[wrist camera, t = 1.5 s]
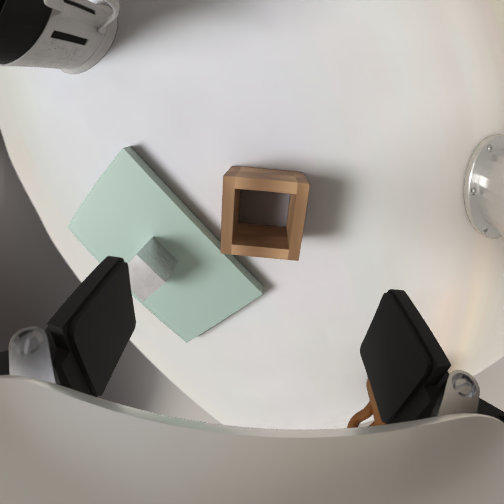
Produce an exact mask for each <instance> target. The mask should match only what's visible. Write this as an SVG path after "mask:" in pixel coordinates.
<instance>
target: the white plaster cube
mask: <svg viewBox="0 0 504 504" xmlns="http://www.w3.org/2000/svg"><path fill="white" fill-rule="evenodd" d="M177 262H178V261H177V260H176V259H175V258H174V257H173V256H172V255H171V254H170V253H169V252H168V251H167V250H166V249H165V248H164V247H163V246H162V245H161V244H160V243H159V242H158V241H157V240H156V239H155V238H154V237H152V238H151V239H150V240H149V241H148V242H147V243H146V244H145V245H144V246H143V247H142V248H141V249H140V250H139V251H138V252H137V253H136V254H135V255H134V256H133V257H132V259H131V260H130V261H129V262H128V267H129V276H130V284H131V291H132V292H134V293H135V294H136V295H137V296H138V297H139V298H140V299H141V300H142V301H143V302H144V301H145V300H146V299H147V298H148V297H149V296H151V295H152V294H153V293H154V292H155V291H156V290H157V289H159V288H160V287H161V286H162V285H163V284H164V283H165V282H166V281H167V279H168V277H169V276H170V274H171V272H172V271H173V269H174V267H175V266H176V264H177Z"/></svg>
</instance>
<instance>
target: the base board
mask: <svg viewBox="0 0 504 504" xmlns="http://www.w3.org/2000/svg"><path fill="white" fill-rule="evenodd" d="M67 228H68V229H69V230H70V231H71V232H72V233H73V234H74V236H75V237H76V238H77V239H78V240H79V241H80V242H81V243H82V244H83V246H84V247H85V248H86V249H87V250H88V251H89V252H90V253H91V254H92V255H93V256H94V257H95V258H96V259H97V260H98V262H99V263H101V262H102V261H103V260H104V259H105V258H106V257H107V256H114V257H121V258H123V259H124V262H127V263H128V262H129V261H130V260H131V259H132V257H133V256H134V255H135V254H136V253H137V252H138V251H139V250H140V249H141V248H142V247H143V246H144V245H145V244H146V243H147V242H148V241H149V240H150V239H151V238H152V237H154V238H155V239H156V240H157V241H158V242H159V243H160V244H161V245H162V246H163V247H164V248H165V249H166V250H167V251H168V252H169V253H170V254H171V255H172V256H173V257H174V258H175V259H176V260H177V261H178V262H177V264H176V266H175V267H174V269H173V271H172V272H171V274H170V276H169V277H168V279H167V281H166V282H165V283H164V284H163V285H162V286H161V287H160V288H159V289H157V290H156V291H155V292H154V293H153V294H152V295H151V296H149V297H148V298H147V299H146V300H145V301H144V302H143V301H142V300H141V299H140V298H139V297H138V296H137V295H136V294H135V293H134V292H132V291H131V292H132V295H133V296H134V297H135V298H136V299H137V300H138V301H139V302H140V303H141V304H143V305H144V306H145V307H146V308H147V309H148V310H149V311H150V312H151V313H153V314H154V315H155V316H156V317H157V318H158V319H159V320H160V321H162V322H163V323H164V324H165V325H166V326H167V327H169V328H170V329H171V330H172V331H173V332H175V333H176V334H177V335H178V336H179V337H181V338H182V339H183V340H184V341H185V342H189V341H190V340H192V339H194V338H195V337H197V336H199V335H200V334H202V333H203V332H205V331H206V330H208V329H210V328H211V327H213V326H214V325H216V324H218V323H219V322H221V321H222V320H224V319H225V318H227V317H228V316H230V315H232V314H233V313H235V312H236V311H238V310H239V309H241V308H242V307H244V306H245V305H247V304H248V303H250V302H251V301H253V300H254V299H256V298H258V297H259V296H261V295H262V294H263V286H262V284H261V283H260V282H259V281H258V280H257V279H256V278H255V277H254V276H253V275H252V274H251V273H250V272H249V271H248V270H247V269H246V268H245V267H244V266H243V265H242V264H241V263H240V262H239V261H238V260H237V259H236V258H235V257H234V256H233V255H232V254H221V242H220V241H219V240H218V239H217V238H216V237H215V236H214V235H213V234H212V233H211V232H210V231H209V230H208V229H207V228H206V227H205V225H204V224H203V223H202V222H201V221H200V220H199V219H198V218H197V217H196V216H195V215H194V214H193V213H192V212H191V211H190V210H189V209H188V208H187V207H186V205H185V204H184V203H183V202H182V201H181V200H180V199H179V198H178V197H177V196H176V195H175V194H174V193H173V192H172V191H171V190H170V188H169V187H168V186H167V185H166V184H165V183H164V182H163V181H162V180H161V179H160V178H159V177H158V176H157V175H156V174H155V172H154V171H153V170H152V169H151V168H150V167H149V166H148V165H147V164H146V163H145V162H144V161H143V160H142V158H141V157H140V156H139V155H138V154H137V153H136V152H135V151H134V150H133V149H132V148H131V147H130V146H129V147H125V148H123V149H122V150H121V151H120V152H119V154H118V155H117V156H116V157H115V159H114V160H113V161H112V163H111V164H110V165H109V166H108V168H107V169H106V170H105V172H104V173H103V174H102V176H101V177H100V178H99V180H98V181H97V183H96V184H95V185H94V187H93V188H92V190H91V191H90V192H89V194H88V195H87V197H86V198H85V200H84V201H83V203H82V204H81V206H80V207H79V209H78V210H77V212H76V213H75V215H74V216H73V218H72V220H71V221H70V223H69V224H68V226H67Z"/></svg>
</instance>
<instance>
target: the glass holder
mask: <svg viewBox="0 0 504 504" xmlns="http://www.w3.org/2000/svg"><path fill="white" fill-rule="evenodd" d="M104 1H106V2H107V3H108V4H109V5H110V6H111V7H112V8H110V7H109V6H107V5H104V4H94V3H92V2H90V1H88V0H0V66H25V67H43V68H56V69H61V70H62V71H63V72H65V73H68V74H79V73H82V72H84V71H87V70H88V69H90V68H92V67H93V66H94V65H96V64H97V63H98V62H99V61H100V60H101V59H102V58H103V56H104V55H105V54H106V53H107V51H108V50H109V48H110V47H111V45H112V43H113V41H114V38H115V35H116V31H117V16H118V15H119V12H120V5H119V1H118V0H104Z"/></svg>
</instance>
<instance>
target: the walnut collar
mask: <svg viewBox="0 0 504 504" xmlns="http://www.w3.org/2000/svg"><path fill="white" fill-rule="evenodd" d="M309 186H310V184H309V182H308V180H307V179H306V177H305V176H304V174H303V172H295V171H286V170H276V169H266V168H254V167H241V166H232V167H231V168H230V169H229V170H228V171H227V172H226V174H225V175H224V176H223V195H222V221H221V254H232V255H242V256H253V257H264V258H275V259H285V260H296V261H298V260H299V254H300V248H301V241H302V235H303V228H304V222H305V215H306V208H307V201H308V193H309ZM240 189H247V190H258V191H269V192H280V193H289V194H290V199H289V208H288V216H287V224H286V227H278V226H267V225H256V224H245V223H238V221H239V205H240Z"/></svg>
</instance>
